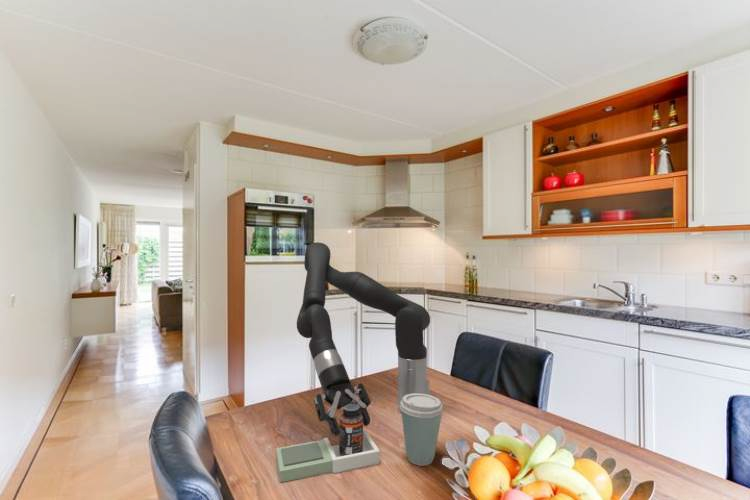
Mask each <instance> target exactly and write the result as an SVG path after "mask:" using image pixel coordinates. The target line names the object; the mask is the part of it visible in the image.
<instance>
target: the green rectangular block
mask: <svg viewBox="0 0 750 500" xmlns="http://www.w3.org/2000/svg"><path fill="white" fill-rule="evenodd" d="M275 452H276V453H275V455H276V457H275V460H276V464H277V465H276V466H277V471H278V478H279V483H281V484H282V483H284V482H285V483H286V482H290V481H294V480H298V479H303V478H309V477H314V476H317V475H322V474H328V473H331V472H332V459H331V457H330V454H329V452H328V449H327V447H326V445H325V442H324V439H321V440H319V439H318V440H313V441H308V442H304V443H297V444H292V445H287V446H281V447H276V448H275ZM332 473H333V472H332Z"/></svg>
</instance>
